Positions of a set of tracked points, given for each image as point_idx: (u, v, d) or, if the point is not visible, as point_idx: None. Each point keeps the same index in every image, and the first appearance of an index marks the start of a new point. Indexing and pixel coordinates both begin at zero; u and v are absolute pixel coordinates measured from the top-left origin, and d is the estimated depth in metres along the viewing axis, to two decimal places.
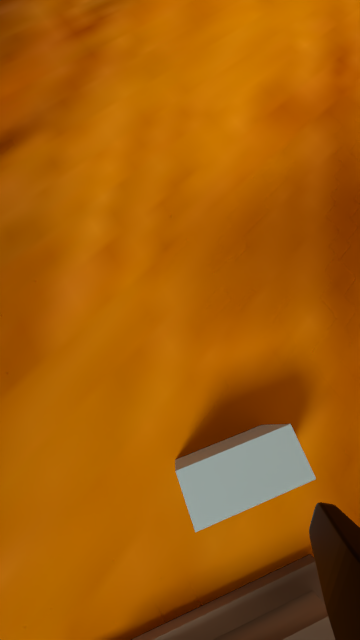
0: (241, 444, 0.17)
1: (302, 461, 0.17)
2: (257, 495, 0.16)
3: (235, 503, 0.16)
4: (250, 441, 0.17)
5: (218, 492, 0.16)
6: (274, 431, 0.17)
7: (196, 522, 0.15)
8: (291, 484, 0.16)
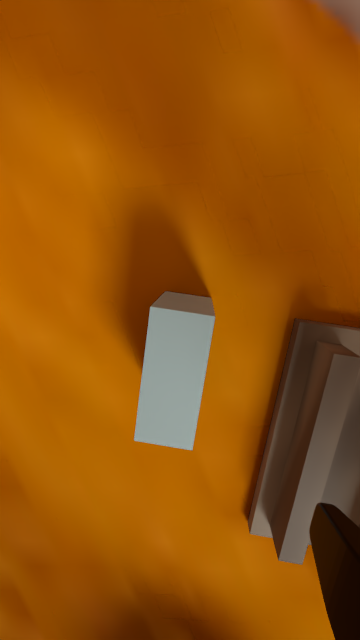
0: (143, 368, 0.14)
1: (192, 318, 0.14)
2: (195, 382, 0.14)
3: (190, 405, 0.15)
4: (145, 359, 0.14)
5: (172, 415, 0.15)
6: (148, 328, 0.14)
7: (185, 446, 0.15)
8: (205, 344, 0.14)
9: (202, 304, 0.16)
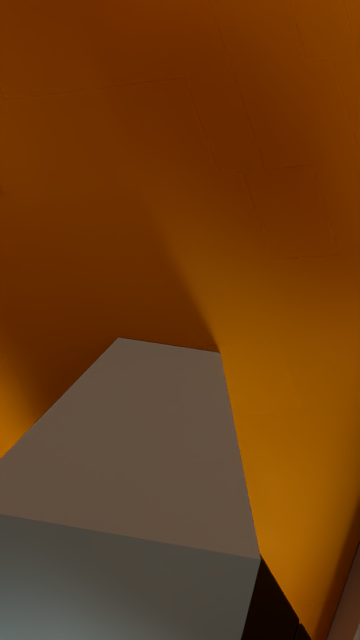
0: None
1: (150, 560, 0.03)
2: None
3: None
4: None
5: None
6: None
7: None
8: None
9: (200, 403, 0.06)
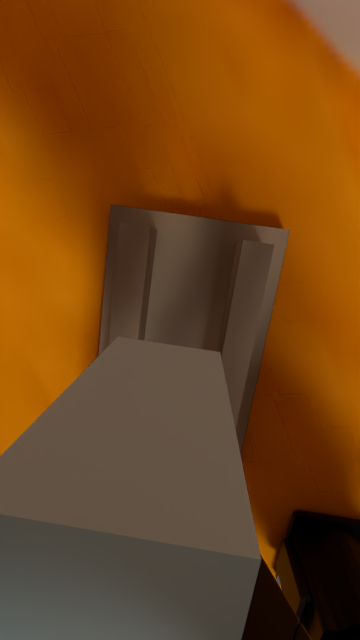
0: None
1: (149, 561, 0.03)
2: None
3: None
4: None
5: None
6: None
7: None
8: None
9: (199, 402, 0.06)
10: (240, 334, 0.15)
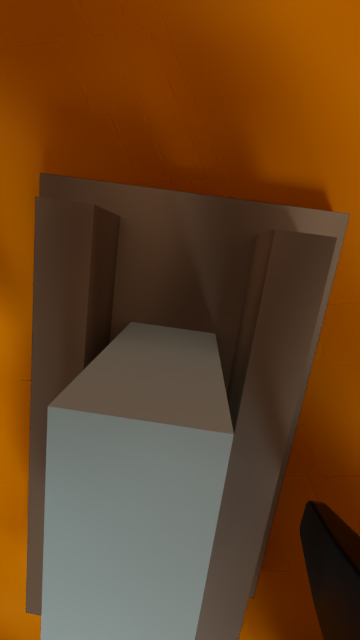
0: (46, 553, 0.06)
1: (166, 438, 0.05)
2: (181, 591, 0.05)
3: None
4: (46, 534, 0.05)
5: None
6: (48, 462, 0.05)
7: None
8: (206, 506, 0.05)
9: (198, 364, 0.07)
10: (268, 404, 0.08)
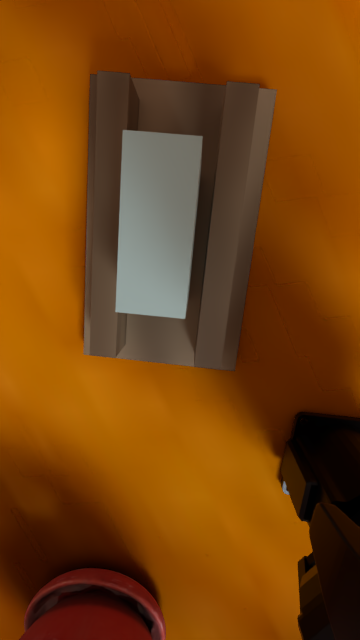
0: (120, 216, 0.12)
1: (174, 141, 0.11)
2: (183, 228, 0.12)
3: (179, 259, 0.12)
4: (121, 202, 0.12)
5: (158, 274, 0.12)
6: (122, 160, 0.11)
7: (176, 313, 0.13)
8: (193, 176, 0.11)
9: None
10: (229, 191, 0.15)
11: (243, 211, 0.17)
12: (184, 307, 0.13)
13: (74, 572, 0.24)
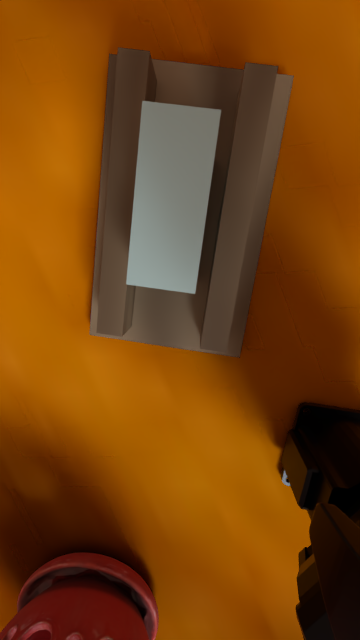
0: (135, 187, 0.12)
1: (192, 114, 0.11)
2: (198, 201, 0.12)
3: (192, 233, 0.12)
4: (137, 173, 0.12)
5: (171, 247, 0.12)
6: (140, 131, 0.12)
7: (186, 288, 0.13)
8: (209, 150, 0.12)
9: None
10: (243, 172, 0.15)
11: (255, 196, 0.17)
12: (195, 282, 0.13)
13: (69, 555, 0.24)
